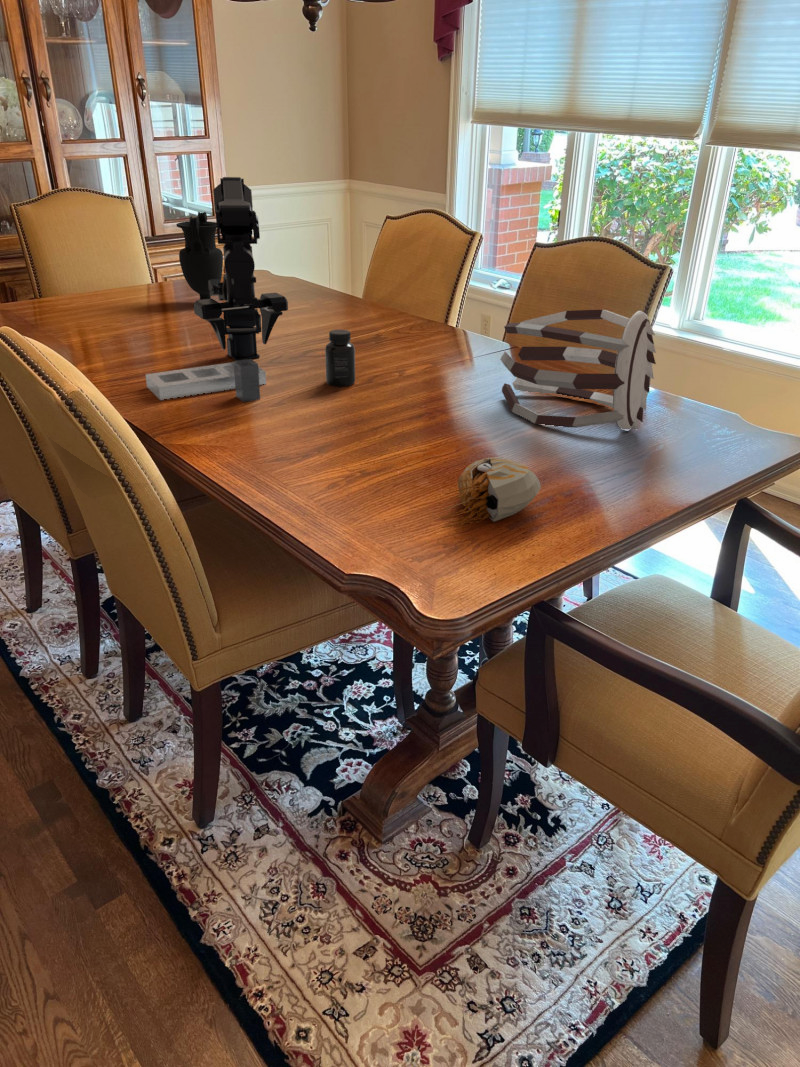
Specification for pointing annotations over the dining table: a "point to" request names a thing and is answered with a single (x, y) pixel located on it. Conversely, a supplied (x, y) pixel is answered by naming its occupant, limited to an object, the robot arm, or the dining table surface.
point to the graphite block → (246, 380)
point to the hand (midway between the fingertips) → (244, 346)
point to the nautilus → (495, 489)
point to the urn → (200, 254)
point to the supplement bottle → (340, 359)
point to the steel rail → (195, 380)
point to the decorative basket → (628, 362)
